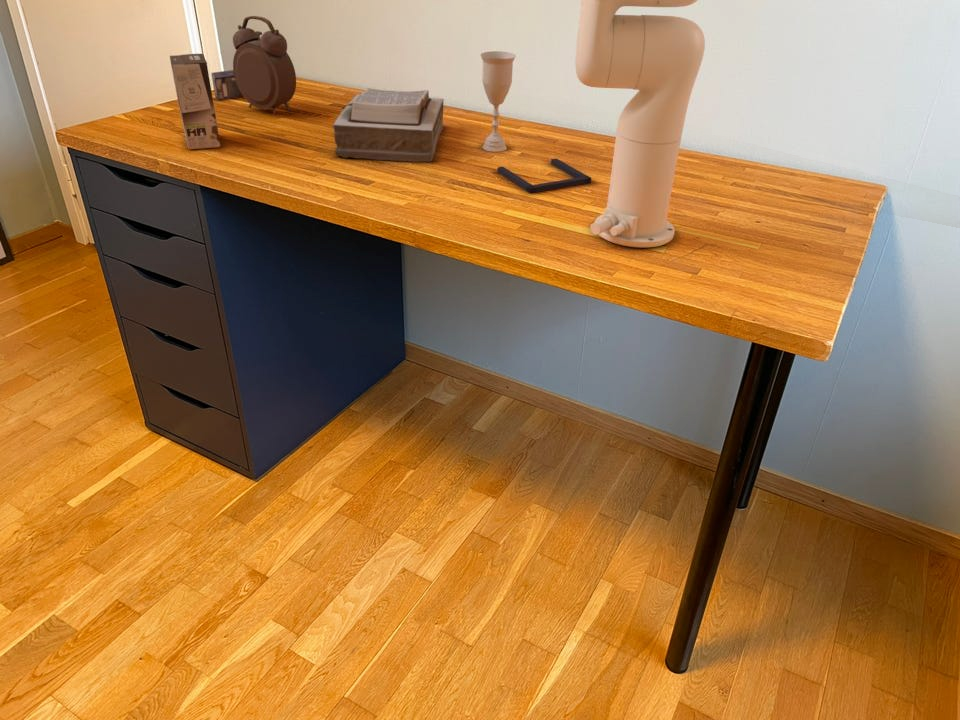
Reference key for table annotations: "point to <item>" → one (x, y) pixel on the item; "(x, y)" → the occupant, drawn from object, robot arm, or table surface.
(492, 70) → the chalice
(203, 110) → the coffee box
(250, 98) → the alarm clock
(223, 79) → the mini dv tape
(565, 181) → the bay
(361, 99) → the bible
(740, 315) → the table surface
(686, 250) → the table surface
